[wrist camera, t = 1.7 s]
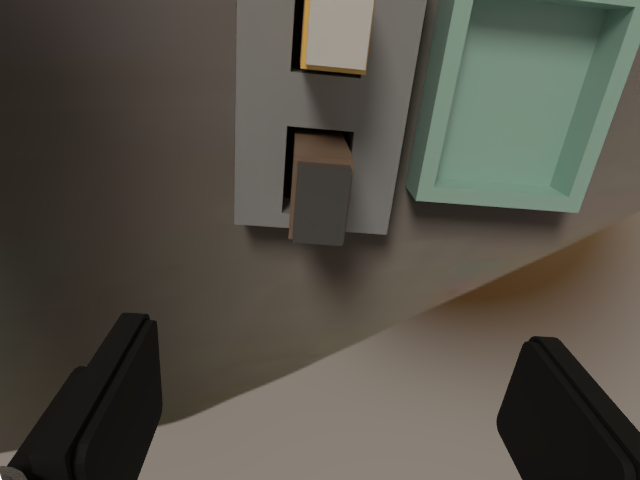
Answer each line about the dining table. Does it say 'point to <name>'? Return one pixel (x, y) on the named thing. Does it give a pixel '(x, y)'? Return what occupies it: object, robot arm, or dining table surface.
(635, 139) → the dining table surface
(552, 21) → the parts tray
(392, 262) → the dining table surface
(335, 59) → the block
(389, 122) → the block
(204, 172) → the dining table surface
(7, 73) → the dining table surface
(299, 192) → the block
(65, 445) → the robot arm
